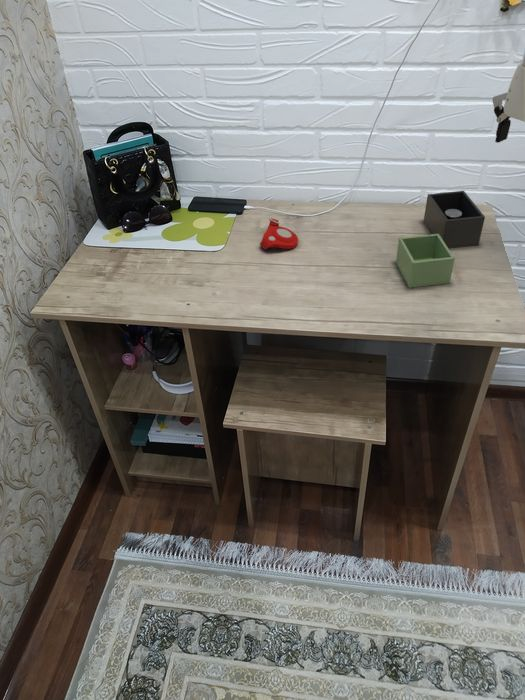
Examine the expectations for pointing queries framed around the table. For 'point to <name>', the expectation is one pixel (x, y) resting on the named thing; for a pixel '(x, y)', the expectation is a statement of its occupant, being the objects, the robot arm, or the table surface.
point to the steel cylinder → (453, 214)
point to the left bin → (424, 260)
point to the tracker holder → (278, 236)
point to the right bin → (454, 230)
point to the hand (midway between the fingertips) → (520, 147)
